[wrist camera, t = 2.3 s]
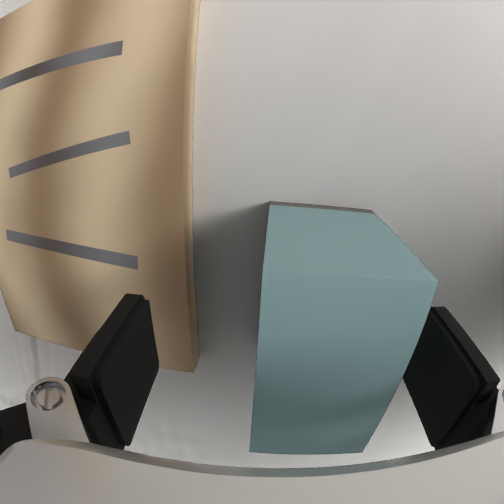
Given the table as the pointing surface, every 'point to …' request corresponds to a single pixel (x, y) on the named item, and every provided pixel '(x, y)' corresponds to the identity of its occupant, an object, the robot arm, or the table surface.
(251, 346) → the table surface
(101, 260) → the board
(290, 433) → the block
